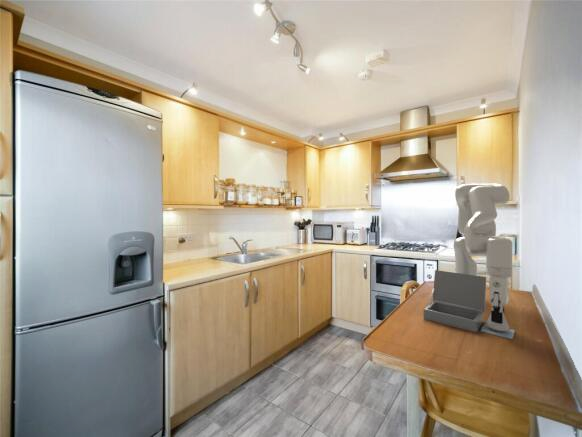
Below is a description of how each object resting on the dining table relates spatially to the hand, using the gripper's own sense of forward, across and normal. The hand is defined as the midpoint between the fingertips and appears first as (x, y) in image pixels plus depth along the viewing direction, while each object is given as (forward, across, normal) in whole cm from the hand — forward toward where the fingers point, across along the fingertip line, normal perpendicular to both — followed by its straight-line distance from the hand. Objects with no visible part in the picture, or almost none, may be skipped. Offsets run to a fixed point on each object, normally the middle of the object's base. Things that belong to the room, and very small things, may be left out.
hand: (497, 319), depth 98 cm
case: (+4, 0, +14) cm, 15 cm away
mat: (+4, 0, 0) cm, 4 cm away
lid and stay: (+1, +6, +15) cm, 16 cm away
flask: (+3, 0, 0) cm, 3 cm away
